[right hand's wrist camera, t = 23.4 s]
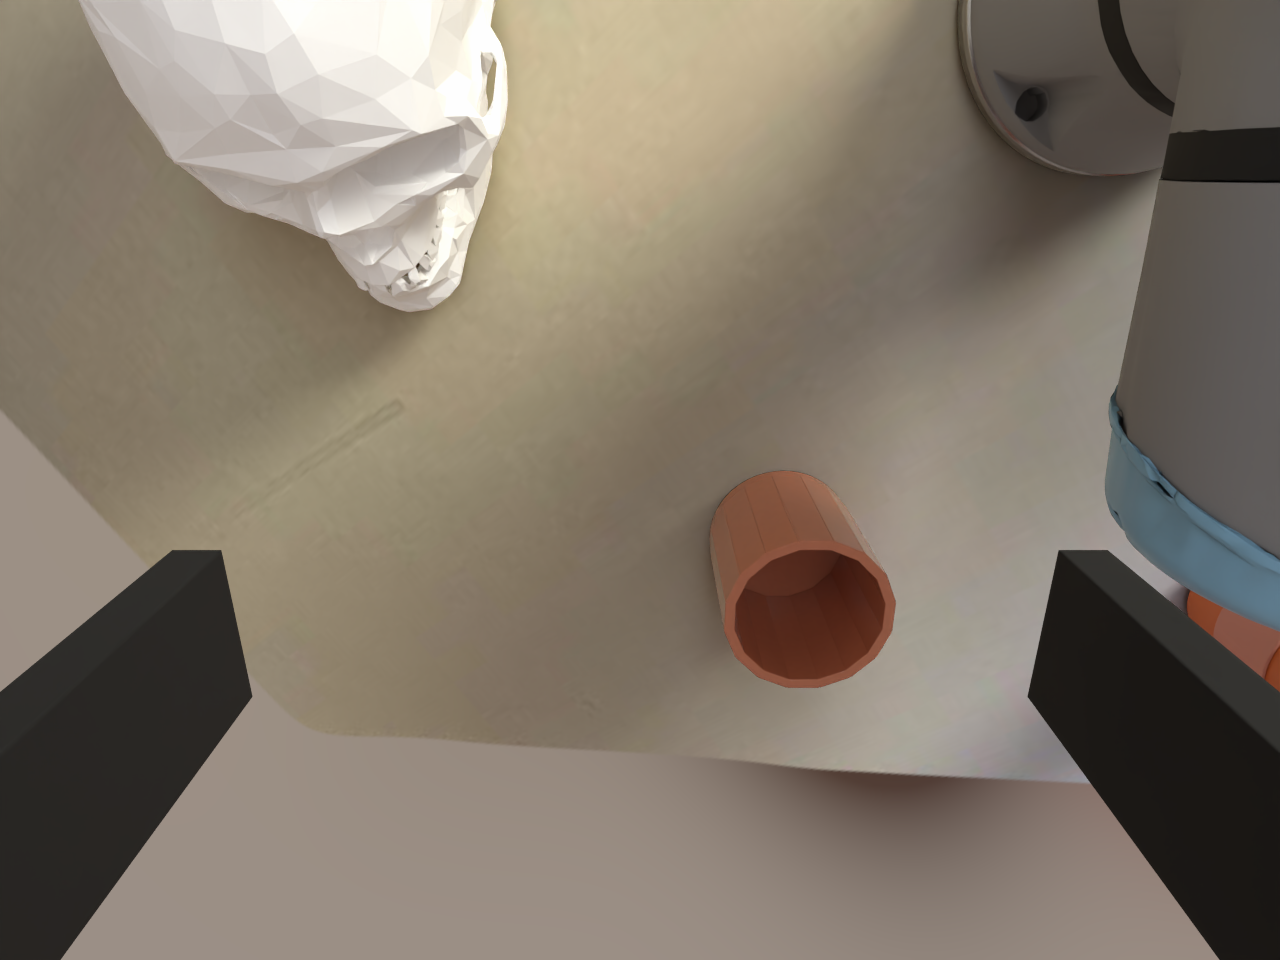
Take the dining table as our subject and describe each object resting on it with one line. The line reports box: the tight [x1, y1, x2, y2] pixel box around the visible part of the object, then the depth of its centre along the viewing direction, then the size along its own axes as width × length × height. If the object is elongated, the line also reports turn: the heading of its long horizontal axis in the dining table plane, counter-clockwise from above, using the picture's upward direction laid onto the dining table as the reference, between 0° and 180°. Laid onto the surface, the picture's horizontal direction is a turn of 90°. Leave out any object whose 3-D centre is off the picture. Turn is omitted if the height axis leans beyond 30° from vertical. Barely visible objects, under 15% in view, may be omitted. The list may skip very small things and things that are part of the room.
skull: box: [78, 0, 508, 312], centre depth 30 cm, size 13×22×16 cm, turn 10°
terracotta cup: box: [710, 471, 896, 688], centre depth 42 cm, size 8×8×9 cm
